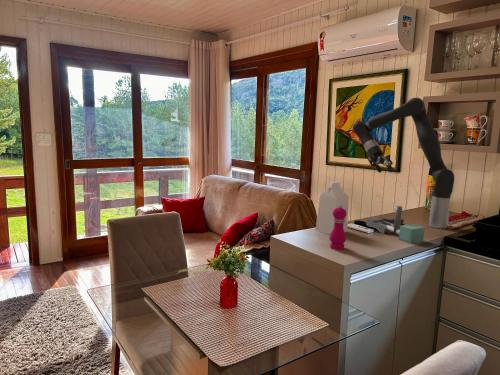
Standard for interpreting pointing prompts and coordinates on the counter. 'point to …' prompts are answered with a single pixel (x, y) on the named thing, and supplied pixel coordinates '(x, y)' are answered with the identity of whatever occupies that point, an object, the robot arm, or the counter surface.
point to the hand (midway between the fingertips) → (386, 171)
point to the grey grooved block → (379, 224)
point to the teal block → (411, 233)
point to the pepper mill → (338, 229)
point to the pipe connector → (393, 221)
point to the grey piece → (396, 221)
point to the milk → (331, 208)
